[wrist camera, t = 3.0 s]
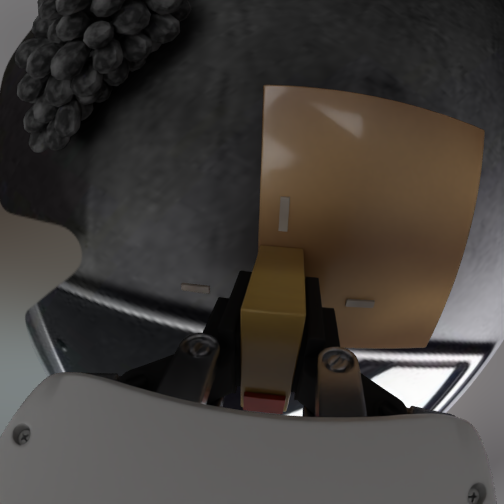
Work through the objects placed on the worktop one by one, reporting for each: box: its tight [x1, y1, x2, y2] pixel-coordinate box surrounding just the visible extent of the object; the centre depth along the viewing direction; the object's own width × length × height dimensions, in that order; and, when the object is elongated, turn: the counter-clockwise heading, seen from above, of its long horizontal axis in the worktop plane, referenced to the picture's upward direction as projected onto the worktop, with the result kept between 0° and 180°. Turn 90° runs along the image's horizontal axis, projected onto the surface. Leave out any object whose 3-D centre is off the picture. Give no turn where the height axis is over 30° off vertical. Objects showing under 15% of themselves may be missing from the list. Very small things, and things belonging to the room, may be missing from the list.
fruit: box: [15, 0, 192, 152], centre depth 9 cm, size 9×8×15 cm
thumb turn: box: [241, 245, 306, 414], centre depth 10 cm, size 5×2×5 cm, turn 178°
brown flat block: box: [181, 85, 484, 348], centre depth 13 cm, size 14×14×5 cm
